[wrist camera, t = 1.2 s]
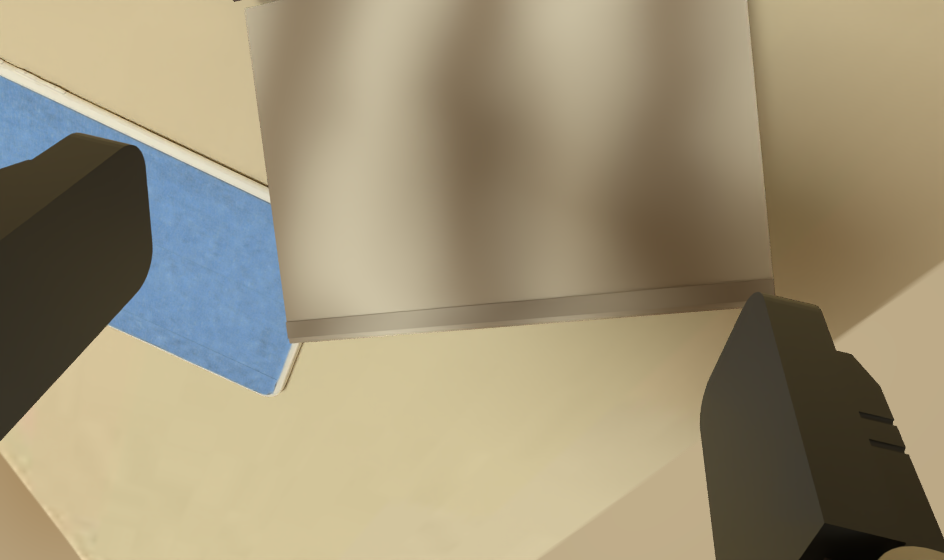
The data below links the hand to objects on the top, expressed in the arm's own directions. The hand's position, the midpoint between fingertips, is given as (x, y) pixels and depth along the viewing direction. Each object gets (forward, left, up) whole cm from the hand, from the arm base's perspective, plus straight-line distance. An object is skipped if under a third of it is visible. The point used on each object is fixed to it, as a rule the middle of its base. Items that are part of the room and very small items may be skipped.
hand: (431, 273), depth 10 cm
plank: (+3, +5, -16) cm, 17 cm away
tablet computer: (+23, +8, -20) cm, 31 cm away
